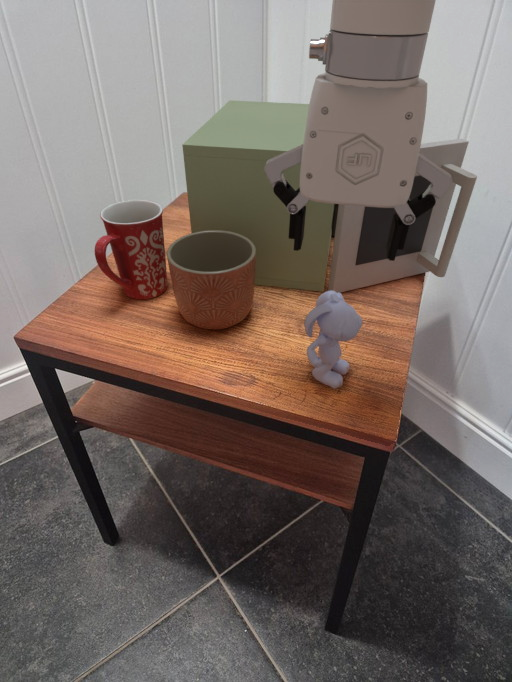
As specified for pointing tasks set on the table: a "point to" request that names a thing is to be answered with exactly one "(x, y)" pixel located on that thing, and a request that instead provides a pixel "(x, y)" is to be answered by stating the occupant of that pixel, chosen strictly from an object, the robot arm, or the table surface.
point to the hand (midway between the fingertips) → (343, 249)
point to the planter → (213, 277)
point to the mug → (134, 247)
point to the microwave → (257, 190)
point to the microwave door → (423, 235)
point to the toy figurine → (331, 336)
